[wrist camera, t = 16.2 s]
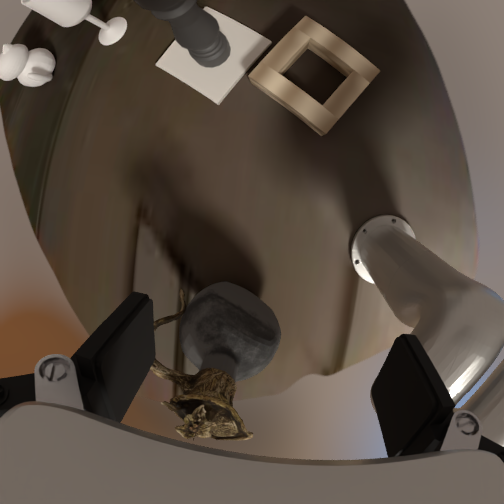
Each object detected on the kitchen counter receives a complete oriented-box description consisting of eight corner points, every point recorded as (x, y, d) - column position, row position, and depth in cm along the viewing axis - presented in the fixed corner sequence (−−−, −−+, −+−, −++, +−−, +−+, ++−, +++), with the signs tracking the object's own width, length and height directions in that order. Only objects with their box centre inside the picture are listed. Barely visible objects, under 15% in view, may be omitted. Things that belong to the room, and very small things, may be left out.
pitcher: (256, 342, 56) (235, 476, 28) (174, 290, 54) (95, 404, 25) (289, 305, 52) (292, 445, 24) (201, 247, 50) (118, 355, 22)
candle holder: (201, 33, 37) (138, -45, 13) (236, 40, 37) (195, -48, 13) (188, 64, 39) (110, 1, 15) (223, 71, 39) (166, 0, 16)
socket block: (371, 78, 38) (380, 70, 33) (321, 136, 42) (326, 134, 37) (303, 27, 36) (305, 15, 31) (251, 83, 40) (248, 76, 36)
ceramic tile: (272, 43, 38) (271, 41, 37) (218, 105, 42) (217, 104, 41) (207, 8, 36) (206, 6, 35) (157, 66, 40) (155, 64, 39)
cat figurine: (46, 45, 38) (1, 34, 24) (70, 62, 40) (21, 49, 26) (27, 78, 41) (-19, 73, 27) (49, 98, 43) (-2, 94, 28)
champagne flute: (122, 43, 38) (39, 1, 16) (95, 47, 39) (11, 16, 16) (130, 14, 36) (56, -36, 14) (103, 19, 36) (26, -20, 14)
